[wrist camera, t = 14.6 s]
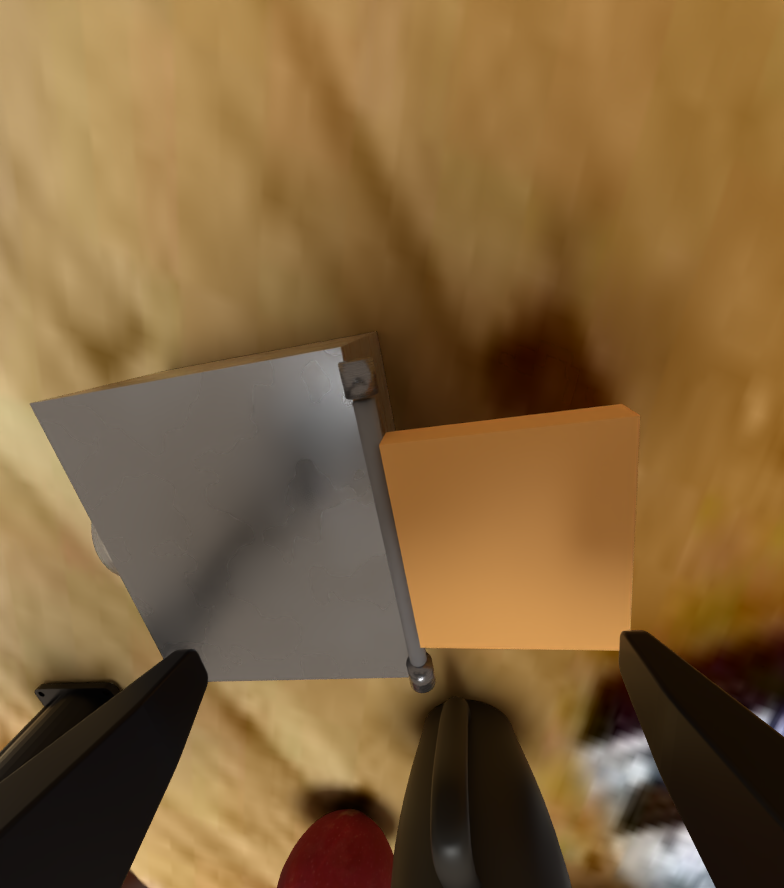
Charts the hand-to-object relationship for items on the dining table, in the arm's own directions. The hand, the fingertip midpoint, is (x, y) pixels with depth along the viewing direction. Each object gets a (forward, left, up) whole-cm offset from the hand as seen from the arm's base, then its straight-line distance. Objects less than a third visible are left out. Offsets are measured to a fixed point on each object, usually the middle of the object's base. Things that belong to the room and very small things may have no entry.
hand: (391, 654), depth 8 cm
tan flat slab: (0, 0, -4) cm, 4 cm away
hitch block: (-6, 0, -10) cm, 12 cm away
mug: (0, -17, -10) cm, 20 cm away
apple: (-10, -29, -11) cm, 32 cm away
